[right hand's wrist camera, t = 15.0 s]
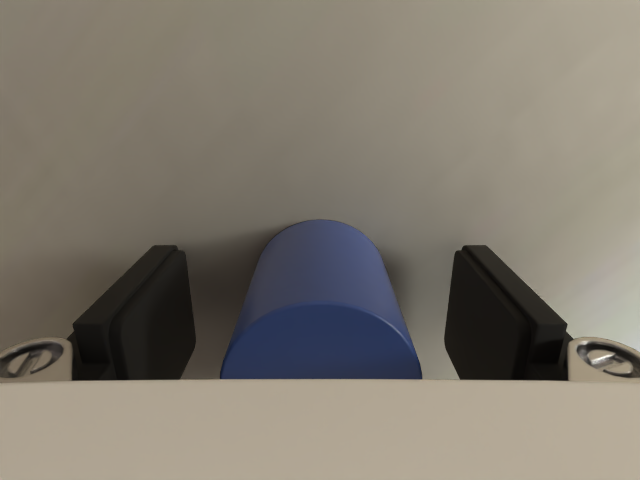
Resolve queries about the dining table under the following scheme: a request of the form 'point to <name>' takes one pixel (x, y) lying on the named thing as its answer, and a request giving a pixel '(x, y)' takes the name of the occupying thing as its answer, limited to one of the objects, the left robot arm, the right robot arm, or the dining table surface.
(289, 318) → the canister
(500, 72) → the dining table surface
